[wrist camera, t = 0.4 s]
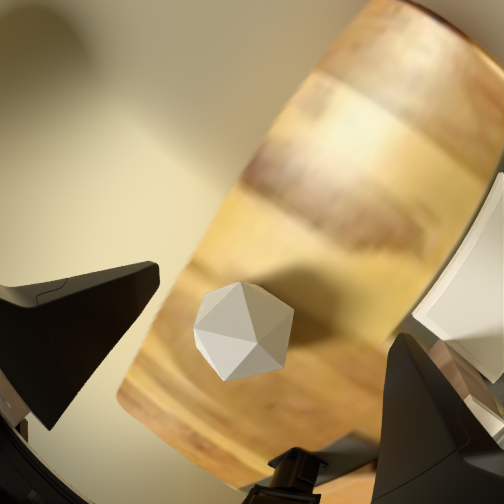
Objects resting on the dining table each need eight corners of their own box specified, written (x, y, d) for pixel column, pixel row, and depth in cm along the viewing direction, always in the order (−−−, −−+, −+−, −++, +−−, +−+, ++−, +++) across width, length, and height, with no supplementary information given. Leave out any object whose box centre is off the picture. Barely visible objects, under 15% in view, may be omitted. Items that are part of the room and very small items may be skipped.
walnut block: (449, 390, 21) (470, 454, 11) (413, 365, 22) (431, 435, 13) (474, 365, 19) (505, 425, 10) (440, 336, 20) (473, 400, 11)
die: (206, 282, 28) (168, 365, 22) (237, 240, 22) (188, 353, 16) (272, 316, 30) (246, 397, 24) (320, 287, 23) (296, 396, 17)
